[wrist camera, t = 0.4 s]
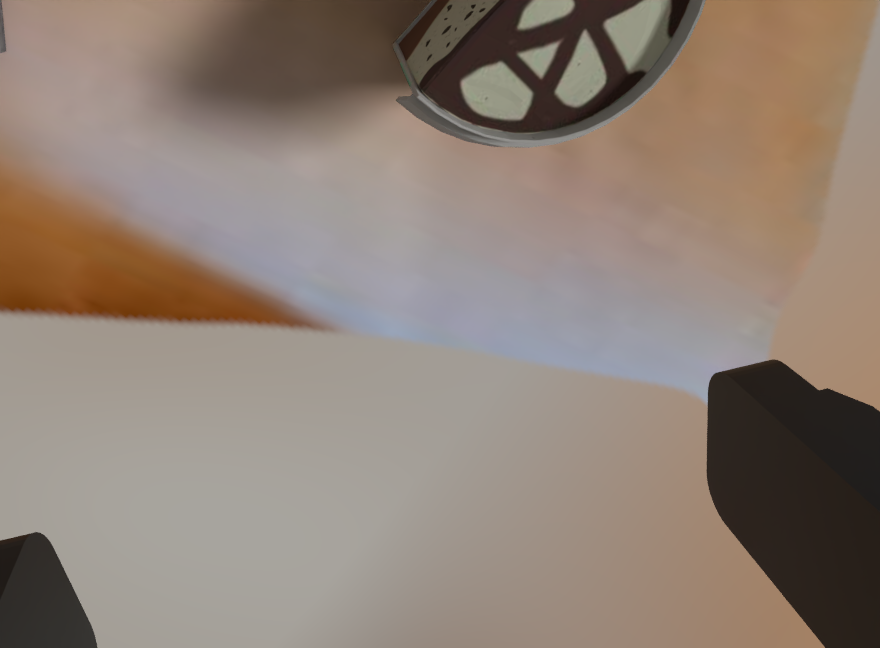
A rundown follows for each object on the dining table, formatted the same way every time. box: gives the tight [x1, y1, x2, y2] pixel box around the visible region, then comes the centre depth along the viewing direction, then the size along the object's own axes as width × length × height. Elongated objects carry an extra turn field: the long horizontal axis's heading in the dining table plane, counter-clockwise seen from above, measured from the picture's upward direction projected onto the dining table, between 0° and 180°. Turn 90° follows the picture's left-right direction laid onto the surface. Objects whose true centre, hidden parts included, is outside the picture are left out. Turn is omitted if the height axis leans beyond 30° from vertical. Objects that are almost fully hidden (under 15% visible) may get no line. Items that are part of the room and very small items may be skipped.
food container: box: [392, 0, 706, 148], centre depth 29 cm, size 12×6×10 cm, turn 136°
